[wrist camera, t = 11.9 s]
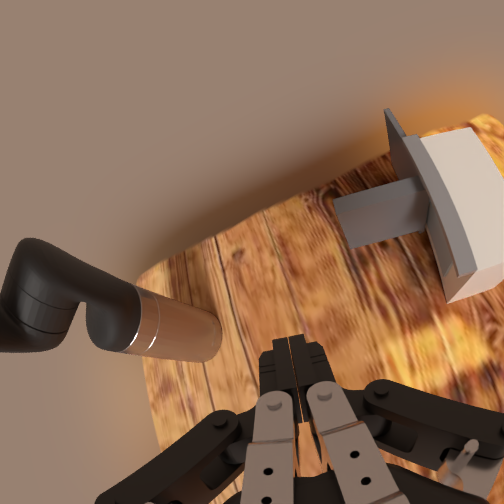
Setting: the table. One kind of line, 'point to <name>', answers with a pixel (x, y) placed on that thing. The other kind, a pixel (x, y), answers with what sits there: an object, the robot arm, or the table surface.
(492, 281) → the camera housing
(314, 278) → the table surface
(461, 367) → the table surface
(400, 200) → the side door
